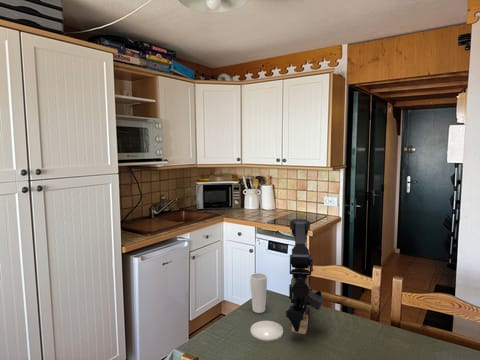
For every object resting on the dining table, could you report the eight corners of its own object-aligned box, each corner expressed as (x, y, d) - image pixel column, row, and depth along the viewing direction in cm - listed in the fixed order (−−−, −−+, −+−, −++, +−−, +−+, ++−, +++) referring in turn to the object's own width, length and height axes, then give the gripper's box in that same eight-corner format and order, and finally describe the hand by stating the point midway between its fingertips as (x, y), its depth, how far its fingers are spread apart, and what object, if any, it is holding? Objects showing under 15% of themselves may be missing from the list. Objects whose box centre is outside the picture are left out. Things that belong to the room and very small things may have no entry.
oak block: (294, 325, 130) (294, 312, 130) (307, 327, 128) (307, 315, 128) (291, 331, 126) (291, 319, 125) (305, 334, 124) (305, 321, 123)
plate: (256, 320, 133) (256, 318, 133) (286, 326, 129) (286, 324, 129) (245, 337, 122) (245, 334, 122) (277, 344, 118) (277, 341, 118)
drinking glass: (265, 315, 138) (265, 279, 136) (249, 313, 139) (249, 278, 137) (267, 307, 144) (267, 273, 142) (252, 305, 146) (251, 272, 144)
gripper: (317, 300, 113) (317, 343, 115) (326, 278, 131) (325, 317, 132) (285, 294, 118) (285, 337, 119) (297, 274, 135) (297, 312, 137)
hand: (299, 325), depth 127 cm, fingers open, 9 cm apart
